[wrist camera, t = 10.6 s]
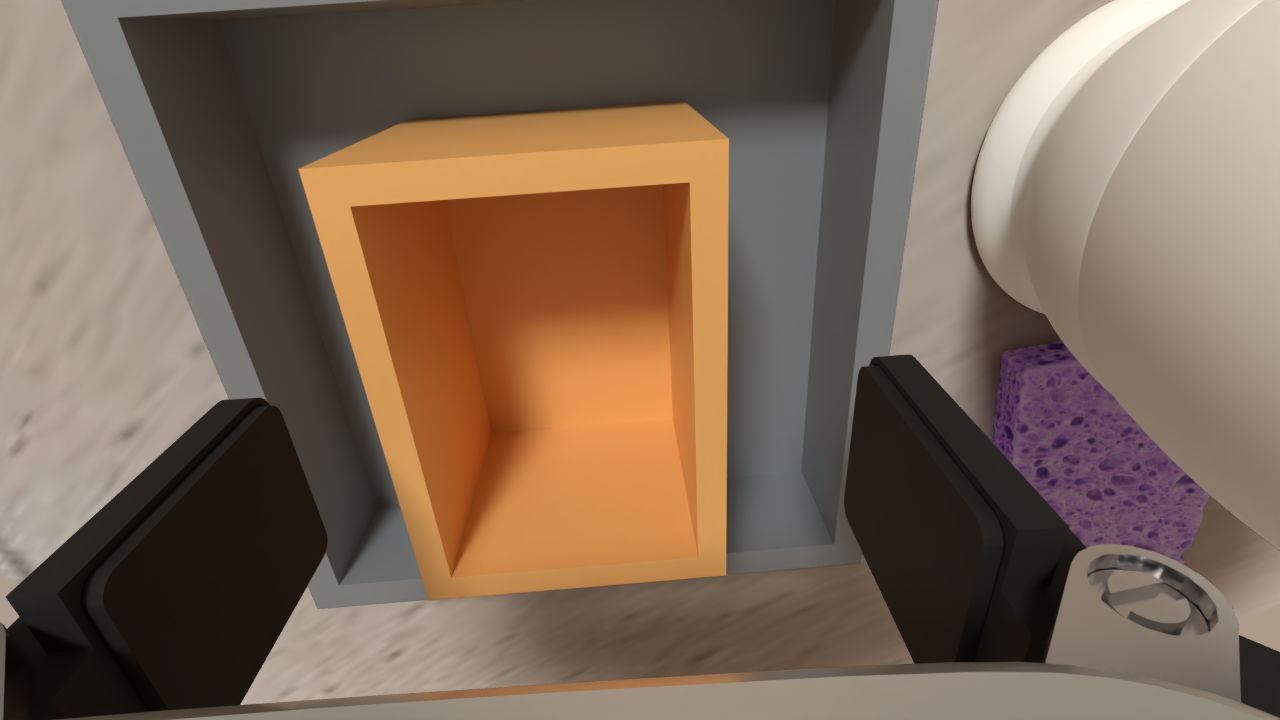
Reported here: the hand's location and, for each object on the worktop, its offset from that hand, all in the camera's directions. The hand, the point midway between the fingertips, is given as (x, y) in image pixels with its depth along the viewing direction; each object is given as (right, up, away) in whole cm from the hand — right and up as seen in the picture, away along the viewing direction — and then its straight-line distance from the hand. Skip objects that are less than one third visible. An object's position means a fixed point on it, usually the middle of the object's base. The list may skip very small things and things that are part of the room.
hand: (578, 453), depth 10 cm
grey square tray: (-1, +4, +7) cm, 8 cm away
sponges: (+16, -3, +12) cm, 21 cm away
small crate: (-1, +3, +6) cm, 7 cm away
